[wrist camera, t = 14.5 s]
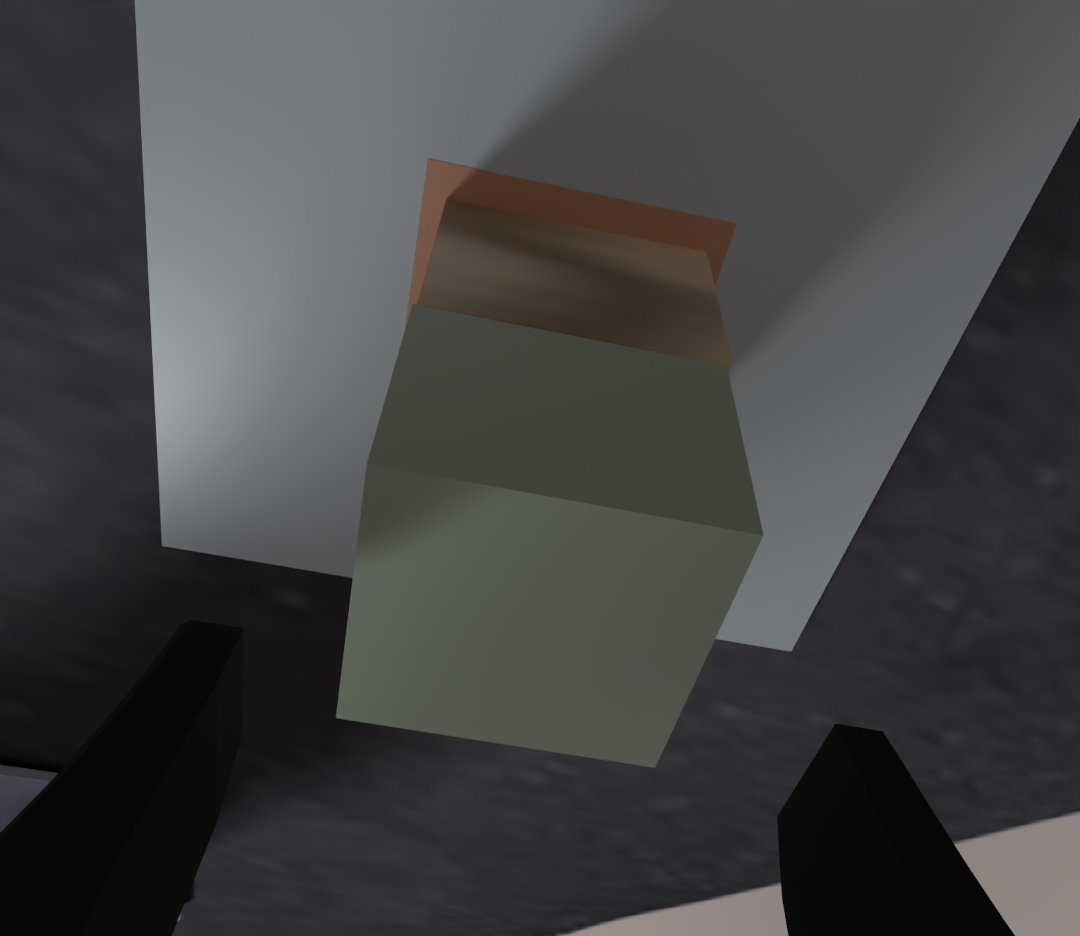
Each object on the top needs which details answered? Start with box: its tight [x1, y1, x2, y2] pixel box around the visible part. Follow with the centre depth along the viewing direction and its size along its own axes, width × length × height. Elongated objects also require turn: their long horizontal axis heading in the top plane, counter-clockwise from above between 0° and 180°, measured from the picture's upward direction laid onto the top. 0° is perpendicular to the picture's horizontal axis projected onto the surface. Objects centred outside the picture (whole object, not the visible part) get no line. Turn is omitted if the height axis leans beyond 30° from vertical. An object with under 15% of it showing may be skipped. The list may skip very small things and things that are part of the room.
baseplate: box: [135, 0, 1080, 651], centre depth 20 cm, size 16×16×1 cm
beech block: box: [417, 200, 732, 373], centre depth 18 cm, size 5×5×4 cm
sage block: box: [336, 304, 764, 768], centre depth 15 cm, size 5×5×4 cm
